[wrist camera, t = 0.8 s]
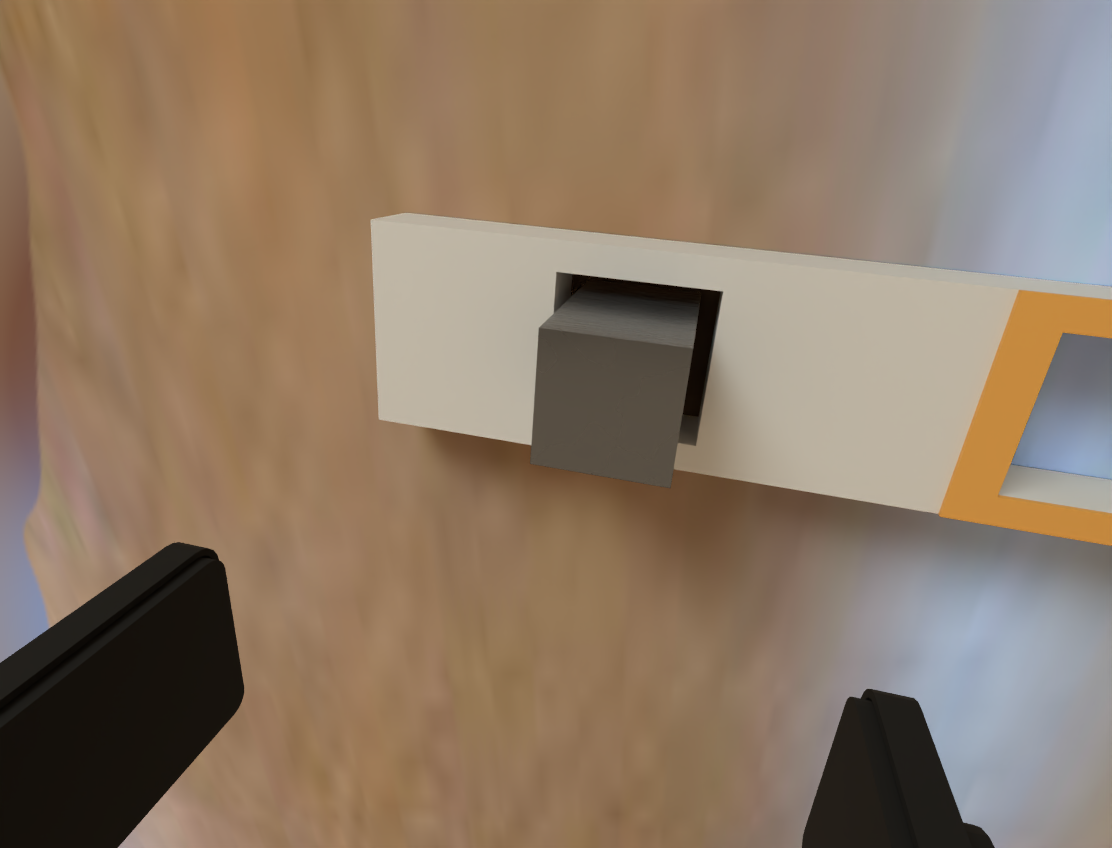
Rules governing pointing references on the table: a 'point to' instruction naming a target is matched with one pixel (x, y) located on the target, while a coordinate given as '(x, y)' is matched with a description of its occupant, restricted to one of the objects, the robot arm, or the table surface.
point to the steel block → (614, 381)
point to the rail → (760, 362)
